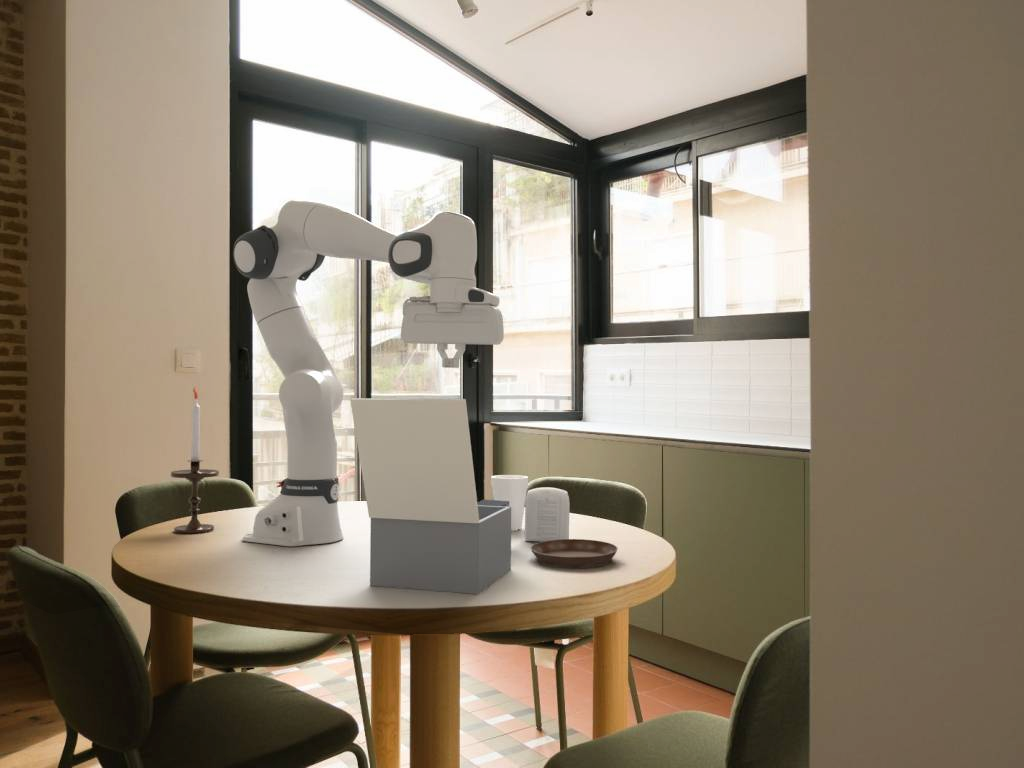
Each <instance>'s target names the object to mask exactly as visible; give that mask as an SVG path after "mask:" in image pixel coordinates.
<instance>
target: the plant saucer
mask: <svg viewBox="0 0 1024 768" xmlns="http://www.w3.org/2000/svg"><path fill="white" fill-rule="evenodd" d="M618 549H619V548H618V546H617V545H615V544H612V543H610V542H608V541H607V542H606V541H602V540H593V539H583V538H582V539H579V538H575V539H574V538H569V539H561V540H550V541H544V542H535V543H534V544H533V545H531V546H530V550H531V553H533V555H534V556H535V558H536V559H537V560H538V561H539V562H540V563H541V562H542V564H544V565H546V564H547V566H550V565H551V567H556V566H557V568H565V567H566V568H568V569H583V568H584V569H588V567H589V568H597V567H600V566H605V565H607V564H608V563H609V562H610V561H612V559H613V558H614V557H615V555H616V553H617V551H618Z"/></svg>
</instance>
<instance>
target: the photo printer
mask: <svg viewBox="0 0 1024 768" xmlns="http://www.w3.org/2000/svg"><path fill="white" fill-rule="evenodd" d="M570 508H571V507H570V496H569V494H568V491H566V490H565V489H560V488H556V487H549V486H548V487H547V486H545V487H543V486H542V487H536V488H532V489H529V490H527V493H526V499H525V506H524V512H525V513H524V541H525V542H537V543H539V542H544V541H550V540H561V539H570Z"/></svg>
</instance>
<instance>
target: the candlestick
mask: <svg viewBox="0 0 1024 768" xmlns="http://www.w3.org/2000/svg"><path fill="white" fill-rule="evenodd" d="M192 391H193V393H194V394H193V395H194V396H193V397H194V402H193V405H191V428H190V429H191V430H190V431H191V439H190V441H191V443H190V444H191V445H190V446H191V447H190V450H191V451H190V460H187V462H189V463H190V469H180V470H172V471H170V477H171V478H174V479H175V478H176V479H185V480H187V481H188V482H189V483H191V497H189V498H188V503H189V504H190V505H191V506H190V509H189V510H188V512H191V516H190V517H191V518H190V520H189V522H188V524H183V525H178V526H175V527H174V528H173V532H174V533H175V534H181V535H198V533H200V534H206V533H205V532H207V533H211V532H214V531H213V530H215V525H214V524H209V523H207V524H205V523H201V521H200V520H199V519H198V512H200V511H201V509H200V508H199V504H200V503H201V500H202V499H201V497H199V494H198V491H199V490H198V489H199V487H198V486H199V482H202V480H204V479H205V478H212V477H213V478H214V477H218V476H219V475H220V472H219V471H220V470H217V469H208V468H207V469H205V468H203V469H200V466H201V465H200V464H201V462H204V460H203V459H202V460H201V459H200V443H201V442H200V432H201V430H200V429H201V427H200V426H201V424H200V423H201V406H200V405H199V402H198V396H199V395H198V392H197V391H196V387H193V389H192ZM210 531H211V532H210Z"/></svg>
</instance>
